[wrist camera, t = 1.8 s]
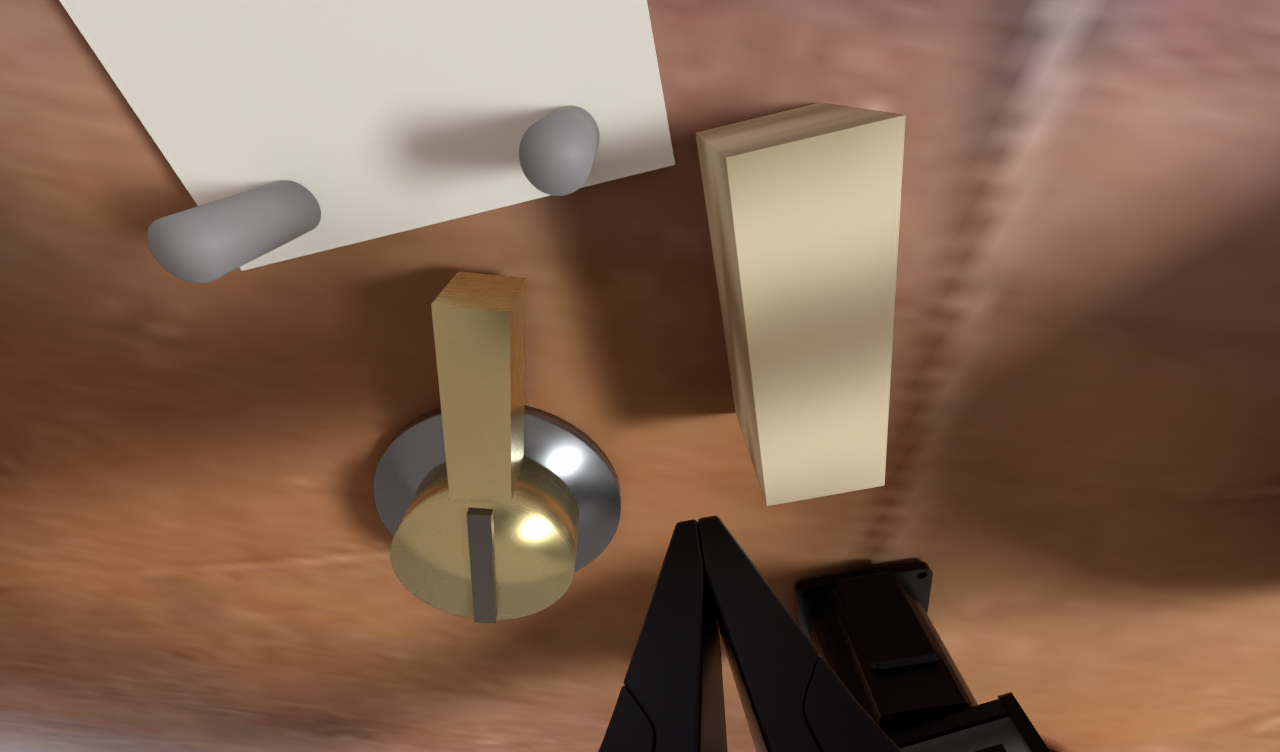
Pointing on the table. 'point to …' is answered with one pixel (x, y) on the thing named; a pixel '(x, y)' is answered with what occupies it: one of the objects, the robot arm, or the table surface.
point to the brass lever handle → (485, 472)
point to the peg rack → (374, 113)
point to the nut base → (543, 444)
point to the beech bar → (808, 289)
